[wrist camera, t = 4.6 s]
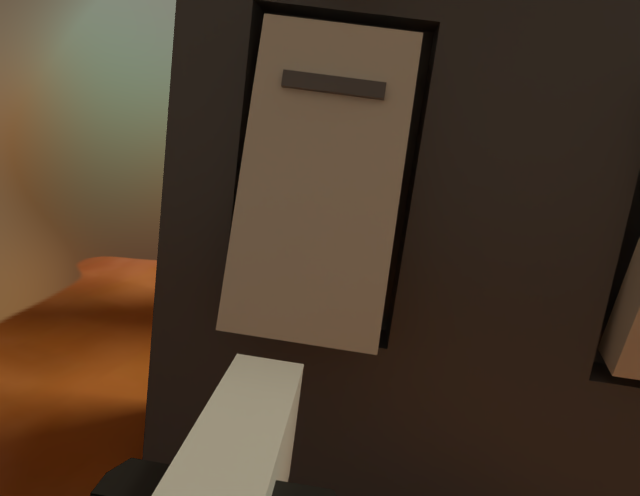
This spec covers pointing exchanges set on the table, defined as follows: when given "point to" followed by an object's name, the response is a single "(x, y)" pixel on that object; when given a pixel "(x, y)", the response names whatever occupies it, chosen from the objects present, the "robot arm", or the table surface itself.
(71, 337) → the table surface
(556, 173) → the switch panel
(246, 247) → the left rocker
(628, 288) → the right rocker
